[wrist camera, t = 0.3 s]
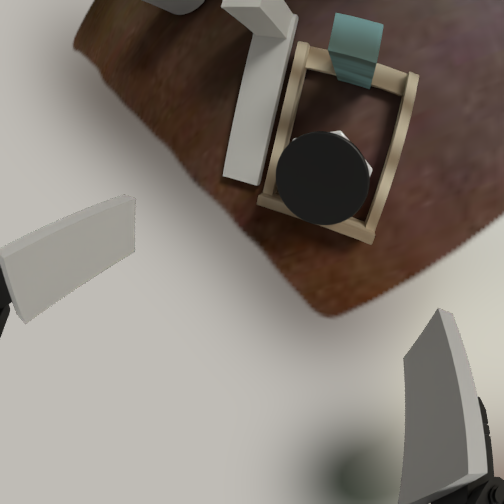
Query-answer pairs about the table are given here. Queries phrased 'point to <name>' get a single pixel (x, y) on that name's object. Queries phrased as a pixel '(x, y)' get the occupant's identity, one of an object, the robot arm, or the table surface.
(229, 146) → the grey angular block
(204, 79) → the table surface
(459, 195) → the table surface
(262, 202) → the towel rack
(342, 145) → the jar
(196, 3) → the can
